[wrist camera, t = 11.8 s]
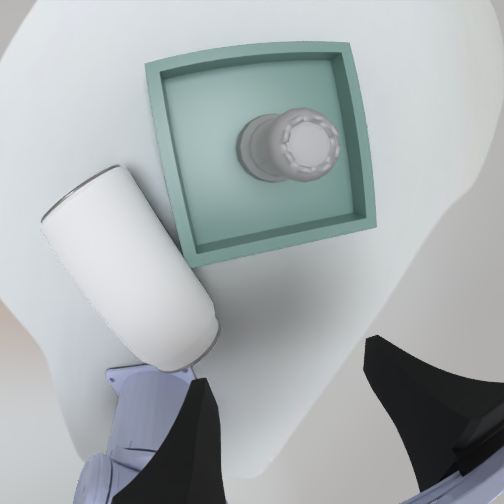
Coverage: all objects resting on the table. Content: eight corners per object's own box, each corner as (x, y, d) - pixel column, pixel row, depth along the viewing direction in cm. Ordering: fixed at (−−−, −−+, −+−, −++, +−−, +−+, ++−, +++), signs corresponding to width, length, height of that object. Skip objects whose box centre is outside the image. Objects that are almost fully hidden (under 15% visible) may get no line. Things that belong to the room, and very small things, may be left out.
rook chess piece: (288, 106, 17) (340, 79, 10) (311, 168, 19) (373, 178, 12) (224, 128, 17) (238, 108, 10) (250, 192, 19) (280, 216, 11)
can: (102, 164, 12) (231, 353, 16) (134, 158, 18) (223, 299, 22) (18, 237, 12) (144, 391, 16) (65, 210, 18) (155, 334, 22)
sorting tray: (359, 219, 21) (376, 227, 19) (189, 255, 20) (187, 268, 18) (334, 52, 17) (349, 42, 15) (151, 74, 16) (144, 63, 14)
